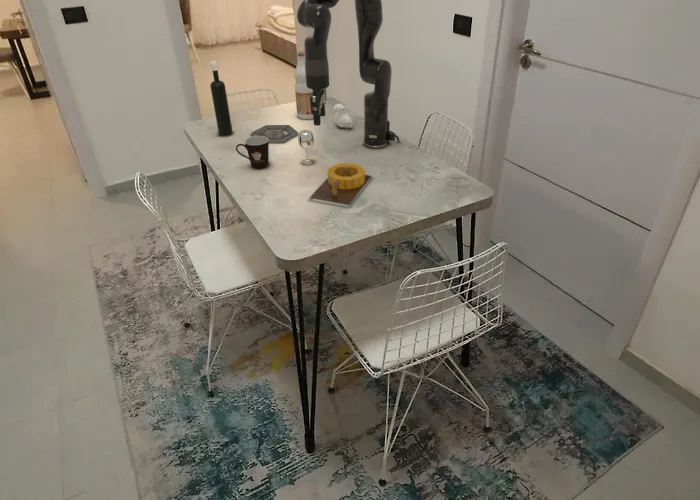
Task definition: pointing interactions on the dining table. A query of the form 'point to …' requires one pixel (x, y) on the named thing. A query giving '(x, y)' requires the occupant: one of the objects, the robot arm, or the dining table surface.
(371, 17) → the robot arm
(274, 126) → the grey hexagonal frame
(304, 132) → the wineglass
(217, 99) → the wine bottle
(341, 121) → the bust
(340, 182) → the yellow segmented ring
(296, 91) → the white milk bottle
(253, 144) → the coffee mug
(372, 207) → the dining table surface
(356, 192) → the rack
